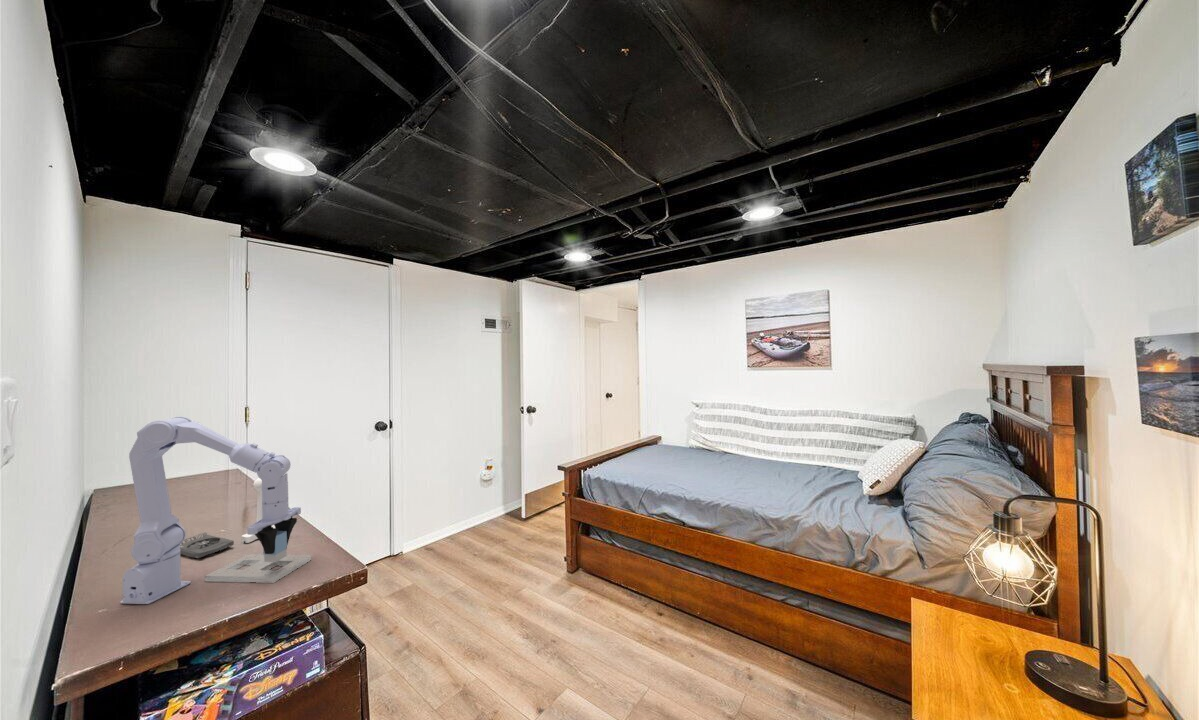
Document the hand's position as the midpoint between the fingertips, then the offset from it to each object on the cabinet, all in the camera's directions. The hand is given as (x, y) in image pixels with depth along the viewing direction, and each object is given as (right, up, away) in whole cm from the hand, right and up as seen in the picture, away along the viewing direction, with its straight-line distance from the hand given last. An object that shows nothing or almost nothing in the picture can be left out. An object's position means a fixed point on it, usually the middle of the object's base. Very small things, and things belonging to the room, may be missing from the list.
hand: (276, 549), depth 111 cm
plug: (0, -3, 0) cm, 3 cm away
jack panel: (-5, -6, 0) cm, 8 cm away
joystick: (-22, -7, +23) cm, 33 cm away
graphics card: (-35, -8, +13) cm, 38 cm away
